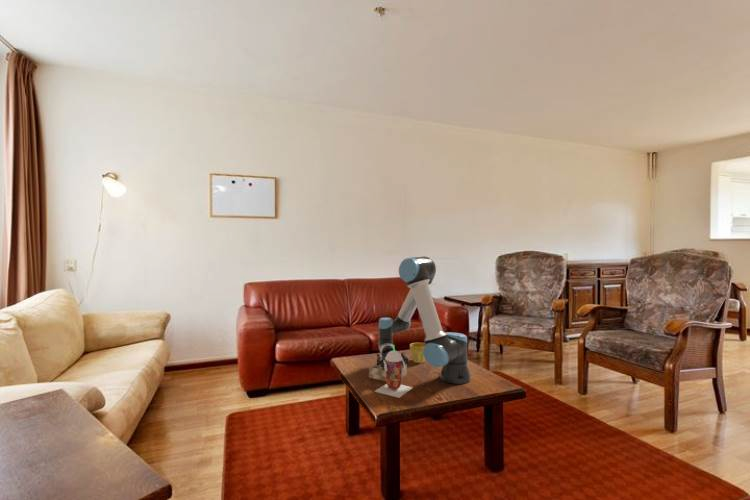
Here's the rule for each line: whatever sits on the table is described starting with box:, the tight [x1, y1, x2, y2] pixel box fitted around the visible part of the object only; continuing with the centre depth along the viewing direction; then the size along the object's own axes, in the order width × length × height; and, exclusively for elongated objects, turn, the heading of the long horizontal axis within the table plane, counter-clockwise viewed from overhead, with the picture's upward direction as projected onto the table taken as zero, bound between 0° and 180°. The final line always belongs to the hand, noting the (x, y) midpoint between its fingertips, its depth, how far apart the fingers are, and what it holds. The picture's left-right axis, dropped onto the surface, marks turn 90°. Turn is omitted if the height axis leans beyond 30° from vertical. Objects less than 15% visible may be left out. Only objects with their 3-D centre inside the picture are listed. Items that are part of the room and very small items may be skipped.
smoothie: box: [385, 344, 403, 389], centre depth 175 cm, size 8×8×20 cm
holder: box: [368, 363, 408, 383], centre depth 193 cm, size 14×14×5 cm
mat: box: [374, 383, 414, 399], centre depth 175 cm, size 13×13×1 cm
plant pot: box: [409, 342, 426, 364], centre depth 216 cm, size 10×10×10 cm
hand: (395, 367), depth 170 cm, fingers closed on smoothie, 8 cm apart
